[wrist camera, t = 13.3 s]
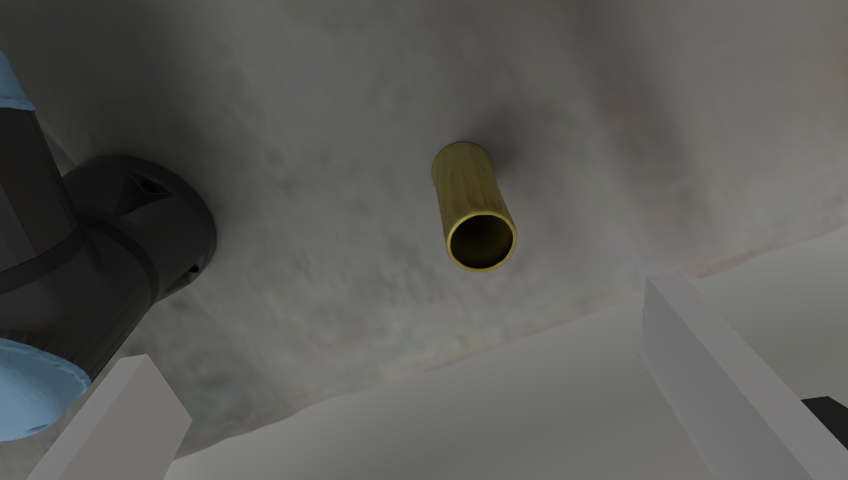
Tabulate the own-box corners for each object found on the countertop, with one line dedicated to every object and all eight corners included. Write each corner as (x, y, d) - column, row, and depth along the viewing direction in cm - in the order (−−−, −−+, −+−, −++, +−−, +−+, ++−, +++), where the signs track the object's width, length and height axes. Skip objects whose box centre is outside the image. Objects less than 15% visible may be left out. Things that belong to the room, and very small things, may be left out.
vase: (493, 140, 42) (527, 204, 30) (490, 198, 45) (519, 276, 33) (431, 142, 42) (439, 206, 30) (431, 199, 45) (439, 279, 33)
